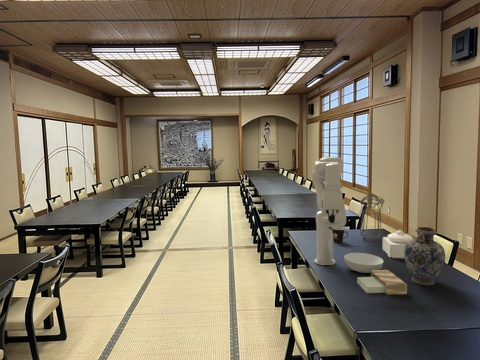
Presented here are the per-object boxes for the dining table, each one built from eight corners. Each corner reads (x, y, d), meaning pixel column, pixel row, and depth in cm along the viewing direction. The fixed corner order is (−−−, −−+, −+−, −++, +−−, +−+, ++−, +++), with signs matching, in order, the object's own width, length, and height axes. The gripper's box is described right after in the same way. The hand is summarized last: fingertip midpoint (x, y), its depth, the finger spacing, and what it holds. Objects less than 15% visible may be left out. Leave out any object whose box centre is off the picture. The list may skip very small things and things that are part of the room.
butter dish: (409, 250, 229) (410, 227, 227) (419, 259, 211) (421, 234, 209) (382, 249, 231) (383, 226, 230) (389, 258, 214) (390, 233, 212)
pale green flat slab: (357, 282, 176) (357, 277, 176) (387, 282, 177) (387, 276, 177) (367, 293, 164) (367, 287, 164) (399, 292, 165) (399, 286, 165)
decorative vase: (408, 270, 192) (411, 222, 188) (446, 279, 180) (450, 227, 176) (397, 283, 175) (400, 230, 172) (438, 293, 163) (443, 236, 160)
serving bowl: (386, 278, 182) (387, 266, 181) (345, 275, 186) (346, 263, 185) (379, 264, 202) (379, 253, 201) (342, 262, 206) (342, 251, 205)
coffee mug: (329, 240, 252) (329, 227, 251) (339, 239, 254) (339, 226, 253) (338, 245, 241) (338, 231, 240) (348, 244, 243) (349, 230, 242)
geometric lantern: (383, 238, 256) (385, 192, 252) (379, 244, 243) (381, 196, 238) (361, 235, 265) (363, 191, 260) (356, 241, 251) (358, 194, 247)
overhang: (370, 280, 179) (371, 270, 179) (388, 279, 180) (389, 269, 179) (386, 294, 162) (387, 283, 162) (406, 294, 163) (407, 283, 162)
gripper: (343, 186, 179) (342, 220, 182) (315, 186, 178) (315, 221, 181) (349, 188, 172) (348, 224, 174) (320, 189, 171) (319, 224, 173)
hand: (331, 222), depth 178 cm, fingers closed
